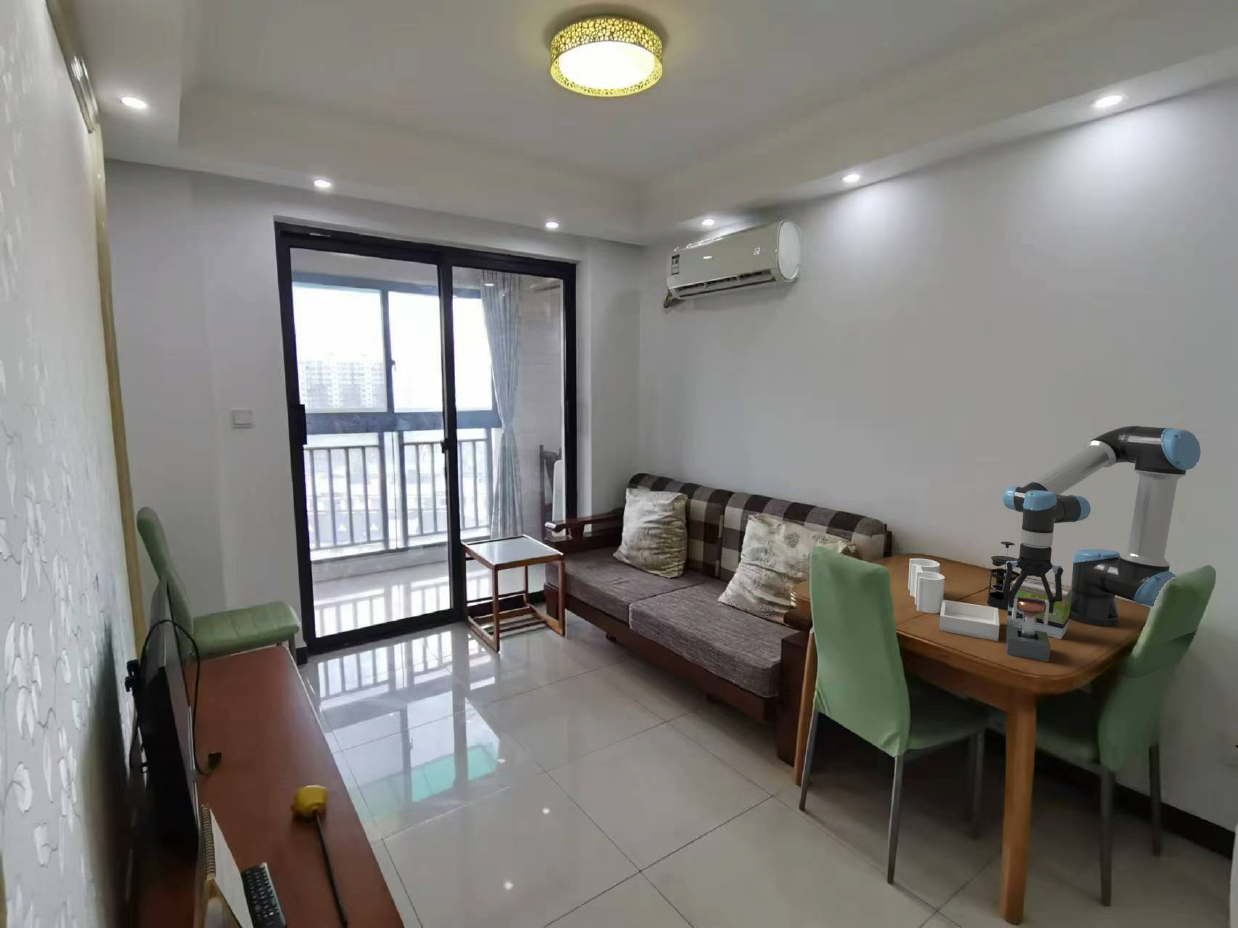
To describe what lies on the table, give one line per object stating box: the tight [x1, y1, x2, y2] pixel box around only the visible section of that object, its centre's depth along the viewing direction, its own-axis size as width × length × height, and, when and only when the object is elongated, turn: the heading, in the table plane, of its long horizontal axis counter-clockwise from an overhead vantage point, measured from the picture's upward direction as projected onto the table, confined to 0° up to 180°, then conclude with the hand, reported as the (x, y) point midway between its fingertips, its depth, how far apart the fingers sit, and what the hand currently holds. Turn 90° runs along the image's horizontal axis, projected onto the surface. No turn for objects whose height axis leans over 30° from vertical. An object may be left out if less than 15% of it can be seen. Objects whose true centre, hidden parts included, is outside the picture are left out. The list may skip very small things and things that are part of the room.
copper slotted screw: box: [1017, 597, 1046, 639], centre depth 176 cm, size 7×7×16 cm
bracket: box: [907, 558, 946, 614], centre depth 217 cm, size 25×10×12 cm, turn 160°
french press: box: [986, 541, 1020, 611], centre depth 211 cm, size 12×9×23 cm
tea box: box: [1006, 576, 1072, 640], centre depth 191 cm, size 15×10×15 cm
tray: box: [938, 599, 1000, 642], centre depth 194 cm, size 16×16×5 cm
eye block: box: [1005, 625, 1051, 663], centre depth 176 cm, size 10×10×5 cm
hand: (1029, 620), depth 175 cm, fingers closed on copper slotted screw, 7 cm apart
